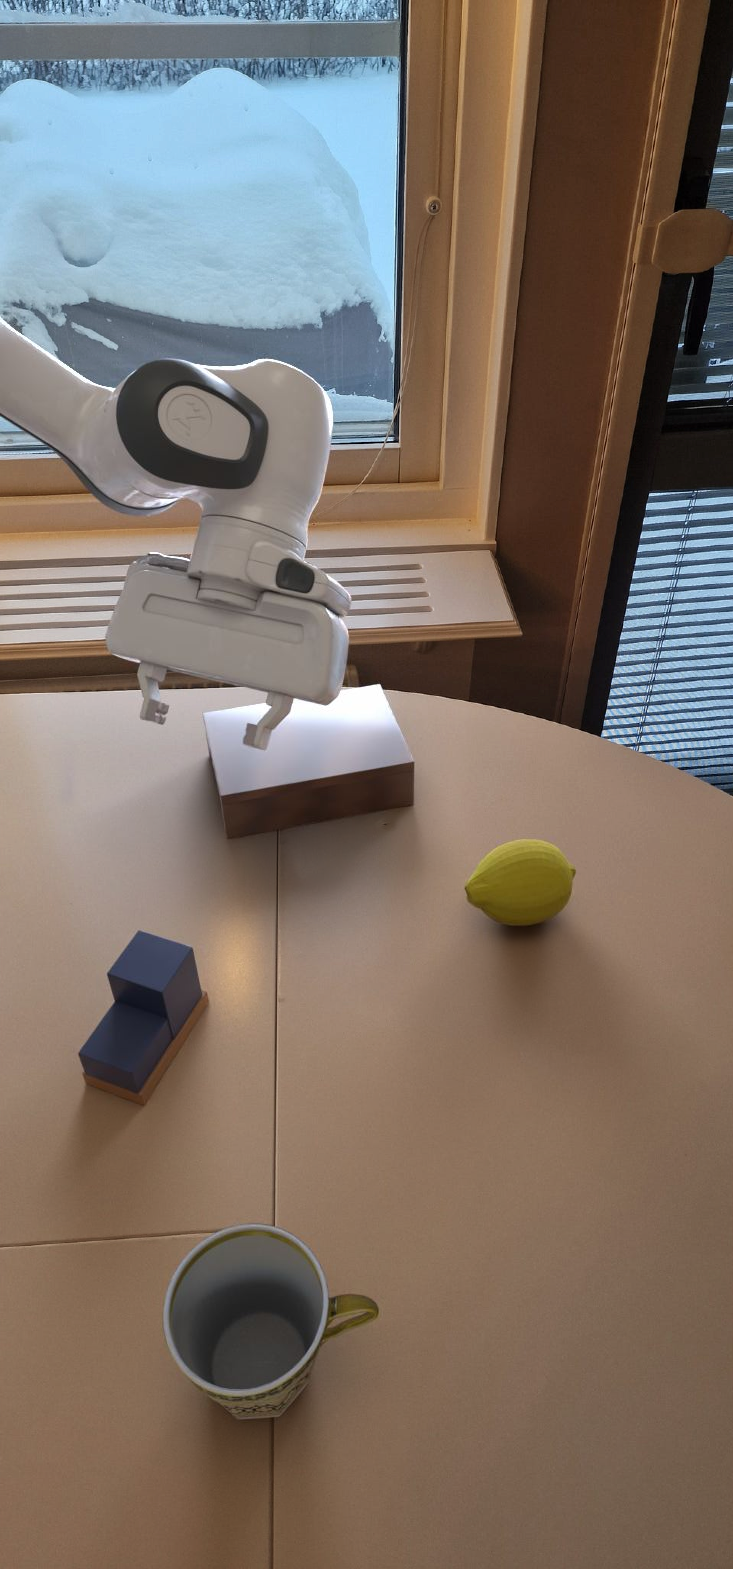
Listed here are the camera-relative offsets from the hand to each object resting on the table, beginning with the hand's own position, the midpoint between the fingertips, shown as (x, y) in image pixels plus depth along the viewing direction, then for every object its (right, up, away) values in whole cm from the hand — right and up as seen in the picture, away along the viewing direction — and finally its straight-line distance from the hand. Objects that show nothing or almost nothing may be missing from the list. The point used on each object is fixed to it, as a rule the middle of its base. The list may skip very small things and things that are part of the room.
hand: (201, 735), depth 84 cm
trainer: (-5, -26, +4) cm, 27 cm away
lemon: (+28, -16, +15) cm, 35 cm away
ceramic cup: (+8, -43, -15) cm, 46 cm away
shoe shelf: (+7, -3, +29) cm, 30 cm away
